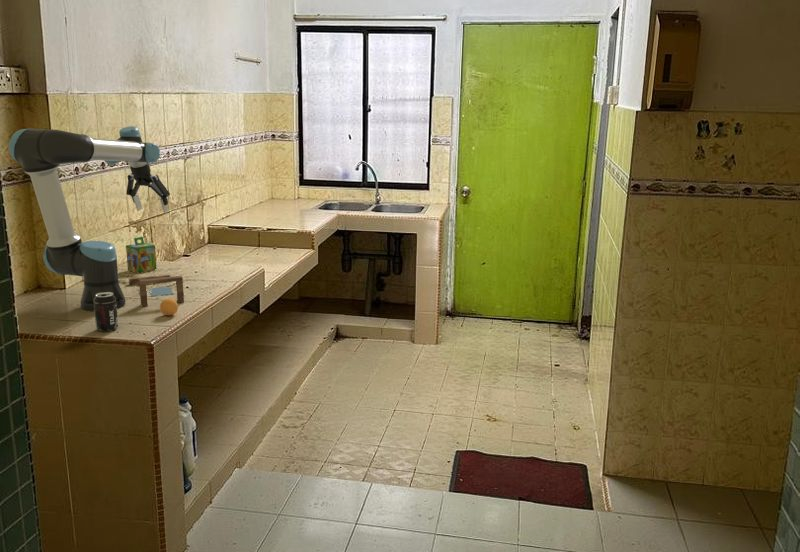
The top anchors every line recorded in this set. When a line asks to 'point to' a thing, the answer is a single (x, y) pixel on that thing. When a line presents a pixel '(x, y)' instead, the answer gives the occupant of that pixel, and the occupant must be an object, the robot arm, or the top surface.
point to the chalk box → (141, 256)
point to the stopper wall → (136, 280)
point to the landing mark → (160, 291)
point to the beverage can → (105, 311)
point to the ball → (169, 307)
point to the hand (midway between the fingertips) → (153, 210)
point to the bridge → (159, 280)
